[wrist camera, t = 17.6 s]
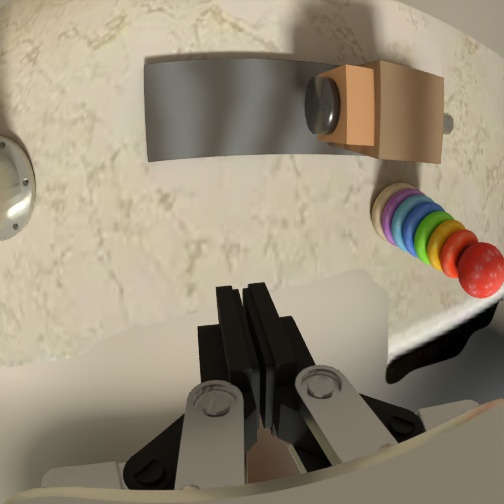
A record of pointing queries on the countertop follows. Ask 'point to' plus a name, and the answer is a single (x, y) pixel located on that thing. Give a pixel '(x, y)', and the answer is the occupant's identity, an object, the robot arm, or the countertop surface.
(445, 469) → the robot arm
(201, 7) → the countertop surface
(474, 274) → the stacking toy
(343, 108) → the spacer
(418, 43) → the countertop surface
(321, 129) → the shaft
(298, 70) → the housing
